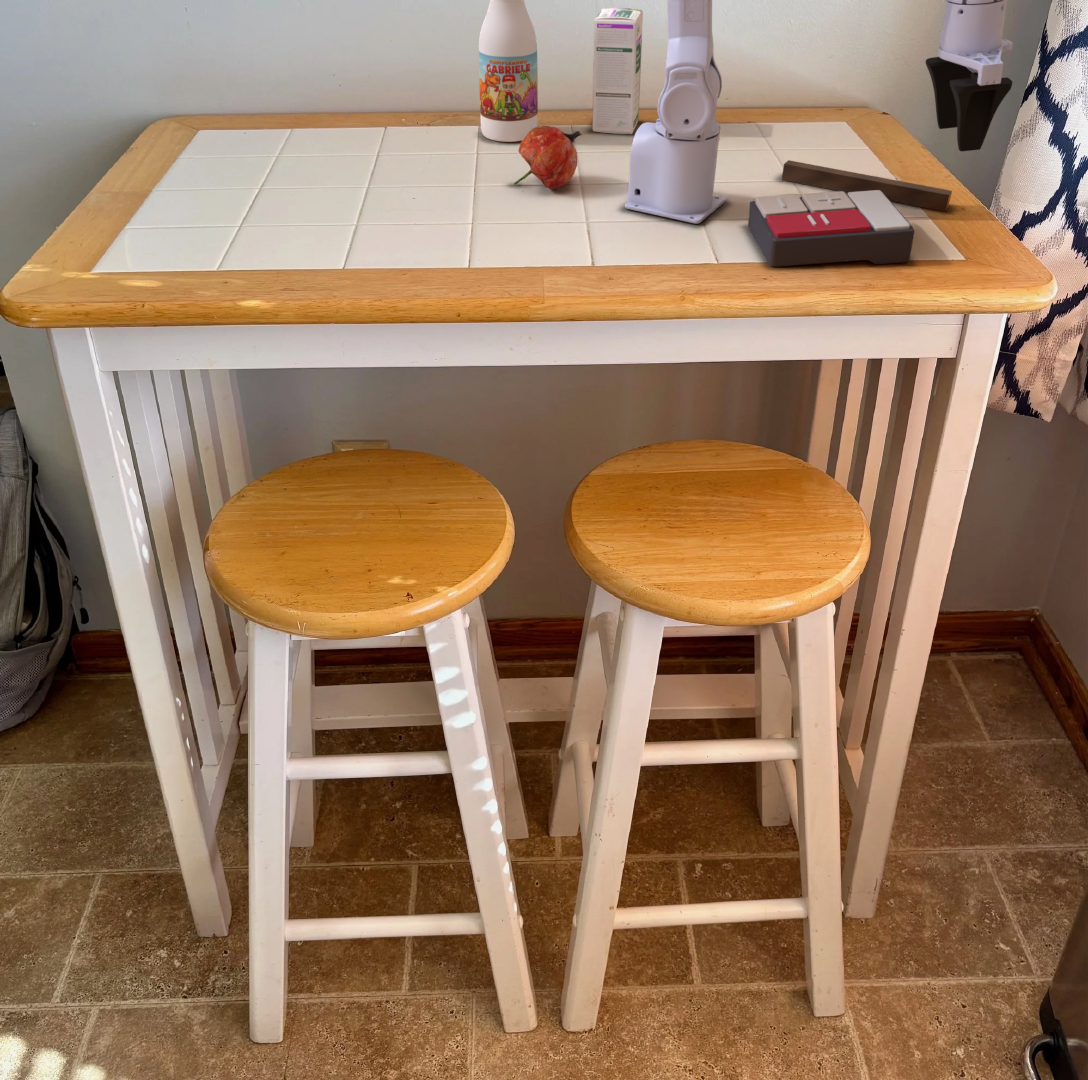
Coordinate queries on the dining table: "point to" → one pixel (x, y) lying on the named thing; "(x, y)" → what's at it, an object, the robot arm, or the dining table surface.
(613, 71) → the syrup box
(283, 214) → the dining table surface
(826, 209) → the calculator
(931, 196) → the bar
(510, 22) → the milk bottle
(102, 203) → the dining table surface
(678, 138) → the robot arm
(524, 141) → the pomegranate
